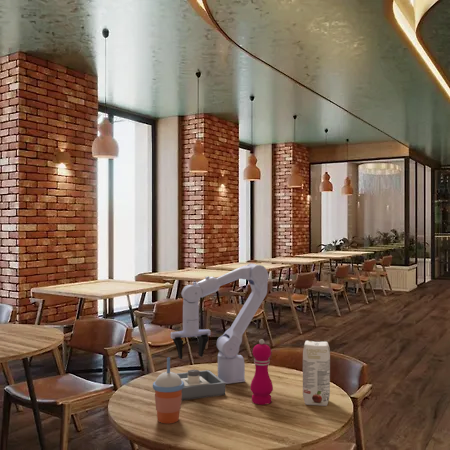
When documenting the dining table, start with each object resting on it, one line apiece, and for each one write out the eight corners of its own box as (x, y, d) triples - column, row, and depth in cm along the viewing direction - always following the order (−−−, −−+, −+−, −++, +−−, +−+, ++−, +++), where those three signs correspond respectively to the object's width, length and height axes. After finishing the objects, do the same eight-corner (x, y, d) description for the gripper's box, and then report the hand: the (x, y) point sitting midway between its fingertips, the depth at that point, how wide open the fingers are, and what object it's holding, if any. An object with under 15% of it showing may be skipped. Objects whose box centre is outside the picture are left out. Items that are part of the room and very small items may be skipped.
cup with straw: (146, 422, 145) (146, 359, 145) (164, 411, 153) (164, 352, 153) (172, 428, 141) (172, 363, 141) (189, 417, 149) (190, 356, 149)
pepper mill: (271, 406, 158) (271, 342, 158) (248, 404, 160) (248, 341, 160) (273, 398, 165) (274, 337, 165) (252, 396, 167) (252, 336, 167)
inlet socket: (201, 383, 178) (201, 376, 178) (209, 391, 171) (209, 383, 171) (178, 386, 175) (178, 379, 175) (185, 394, 167) (185, 386, 167)
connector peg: (199, 387, 175) (199, 369, 175) (198, 390, 171) (198, 372, 171) (188, 386, 175) (188, 369, 175) (187, 390, 171) (187, 372, 171)
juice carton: (329, 407, 157) (330, 346, 157) (302, 405, 159) (302, 344, 159) (329, 399, 165) (330, 340, 165) (303, 397, 167) (303, 339, 167)
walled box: (208, 381, 183) (208, 370, 183) (225, 394, 169) (225, 382, 169) (163, 386, 177) (163, 374, 177) (176, 401, 162) (176, 388, 162)
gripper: (205, 315, 187) (205, 352, 187) (167, 318, 181) (167, 356, 181) (212, 319, 181) (212, 357, 181) (173, 322, 175) (173, 361, 175)
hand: (190, 357), depth 181 cm, fingers open, 7 cm apart
